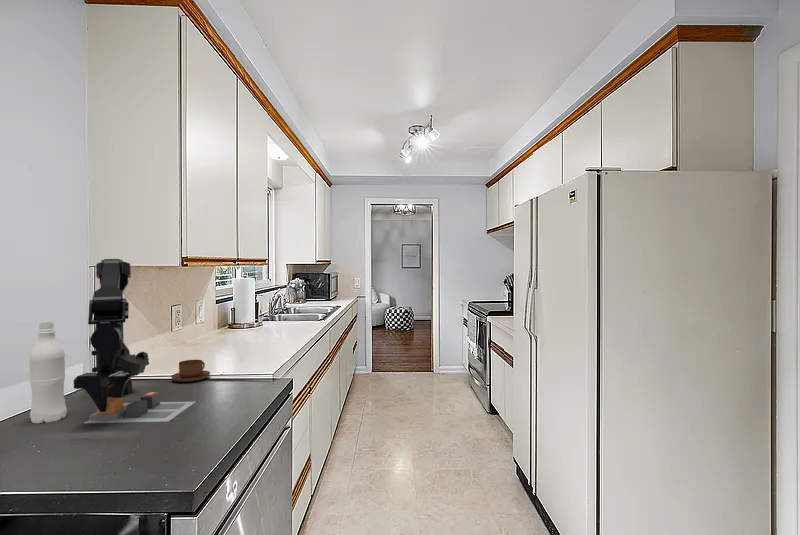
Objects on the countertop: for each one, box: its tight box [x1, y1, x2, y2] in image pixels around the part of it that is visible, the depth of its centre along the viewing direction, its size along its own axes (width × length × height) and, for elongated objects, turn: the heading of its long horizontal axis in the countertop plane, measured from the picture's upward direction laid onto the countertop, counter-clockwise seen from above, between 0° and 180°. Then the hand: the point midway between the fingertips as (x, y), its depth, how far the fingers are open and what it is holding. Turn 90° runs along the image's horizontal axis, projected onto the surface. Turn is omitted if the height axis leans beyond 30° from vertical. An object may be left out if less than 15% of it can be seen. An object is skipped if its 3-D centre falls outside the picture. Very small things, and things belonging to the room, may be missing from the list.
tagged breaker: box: [140, 391, 161, 408], centre depth 125 cm, size 3×4×3 cm
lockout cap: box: [97, 397, 124, 414], centre depth 118 cm, size 4×4×4 cm
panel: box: [84, 400, 196, 424], centre depth 121 cm, size 20×16×5 cm
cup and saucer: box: [170, 359, 211, 383], centre depth 161 cm, size 12×12×6 cm
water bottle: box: [28, 321, 68, 424], centre depth 117 cm, size 7×7×25 cm
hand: (110, 407), depth 118 cm, fingers open, 6 cm apart
